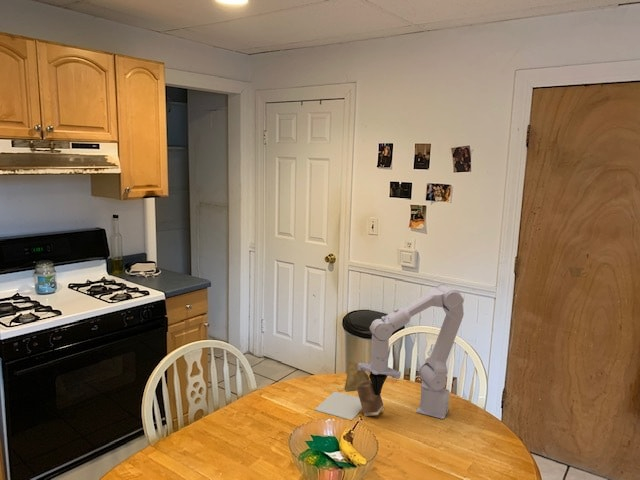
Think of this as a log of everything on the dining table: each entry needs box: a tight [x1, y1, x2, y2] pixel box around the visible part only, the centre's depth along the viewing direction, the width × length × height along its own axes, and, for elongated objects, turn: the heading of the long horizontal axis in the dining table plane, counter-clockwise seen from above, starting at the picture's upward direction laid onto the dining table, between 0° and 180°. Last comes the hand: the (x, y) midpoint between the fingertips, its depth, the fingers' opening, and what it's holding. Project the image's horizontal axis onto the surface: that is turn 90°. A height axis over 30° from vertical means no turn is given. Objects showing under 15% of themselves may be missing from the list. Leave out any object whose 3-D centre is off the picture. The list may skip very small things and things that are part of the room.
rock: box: [344, 361, 370, 392], centre depth 183 cm, size 11×9×10 cm
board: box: [313, 390, 363, 420], centre depth 169 cm, size 14×16×1 cm
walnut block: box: [356, 380, 385, 417], centre depth 164 cm, size 5×6×10 cm
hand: (377, 394), depth 162 cm, fingers closed
